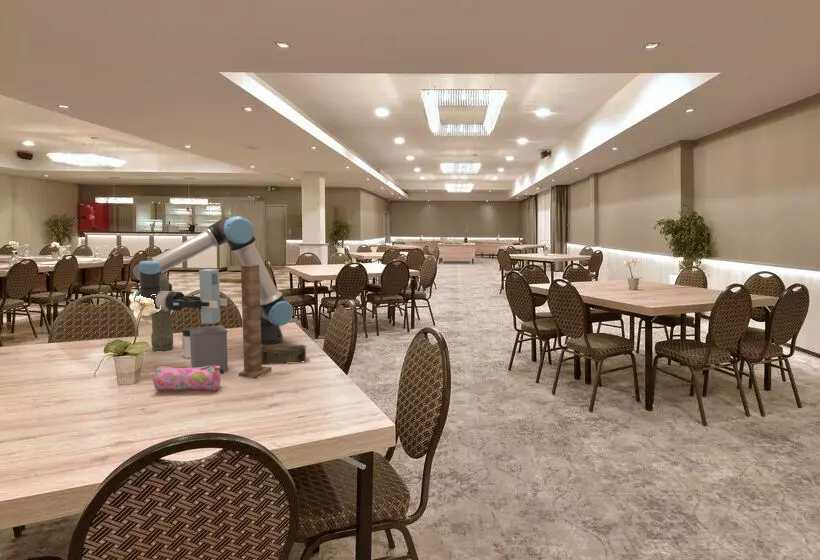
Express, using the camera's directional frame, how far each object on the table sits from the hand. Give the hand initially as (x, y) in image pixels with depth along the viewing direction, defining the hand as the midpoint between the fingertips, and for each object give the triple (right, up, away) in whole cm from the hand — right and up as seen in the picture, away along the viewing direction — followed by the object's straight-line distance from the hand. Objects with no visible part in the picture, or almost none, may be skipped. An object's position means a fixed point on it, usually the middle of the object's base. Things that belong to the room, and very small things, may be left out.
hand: (221, 303), depth 195 cm
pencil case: (-4, -30, -20) cm, 36 cm away
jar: (-22, -24, +25) cm, 41 cm away
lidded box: (-7, -26, +5) cm, 28 cm away
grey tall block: (-5, -8, +2) cm, 9 cm away
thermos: (-41, -23, +36) cm, 59 cm away
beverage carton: (+19, -26, +17) cm, 37 cm away
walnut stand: (+8, -27, +1) cm, 28 cm away
